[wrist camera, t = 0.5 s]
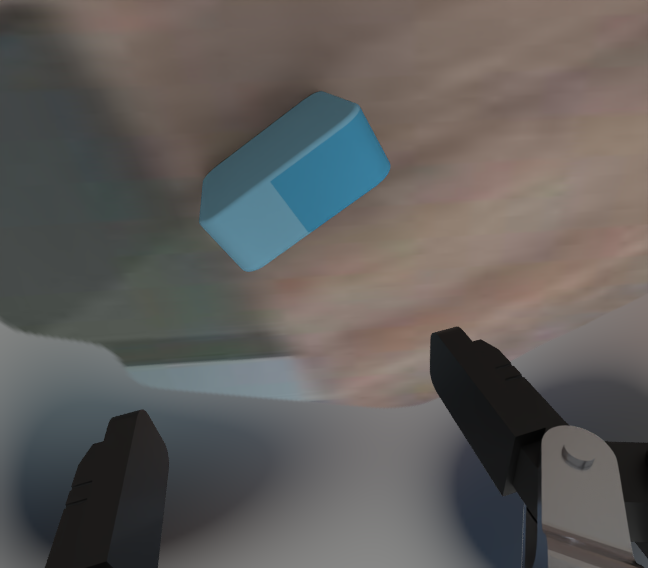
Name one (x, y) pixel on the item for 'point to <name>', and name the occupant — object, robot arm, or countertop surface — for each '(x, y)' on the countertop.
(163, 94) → the countertop surface
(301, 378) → the countertop surface
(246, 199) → the blue box
